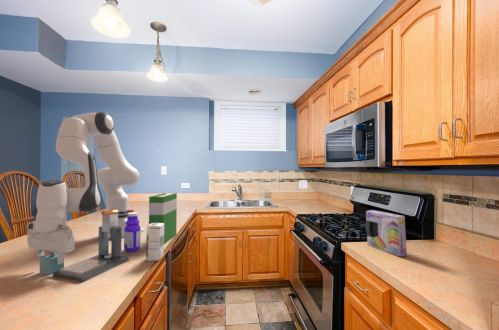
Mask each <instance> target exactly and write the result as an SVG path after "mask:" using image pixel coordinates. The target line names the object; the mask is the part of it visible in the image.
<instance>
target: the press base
mask: <svg viewBox="0 0 499 330" xmlns="http://www.w3.org/2000/svg"><path fill="white" fill-rule="evenodd" d="M121 230H122V227H114V228H112V233H111V241H107V232H103V231H102V225H101V226H98V252H97V253H98V254H97V255H94V256H92V257H89V258H86V259H82V260H79V261H77V262H73V263H72V264H70V265H67V266H64V268H61V269H60V270H57V271H55V272H53V274H52V277H53V278H58V279H63V280H68V281H73V282H77V283H78V282H79V283H83V282H86V281H88V280H91V279H92V278H94V277H96V276H99V275H100V274H103V273H105V272H107V271H109V270H111V269H113V268H115V267H118V266H120V265H122V264H124V263H127V262H128V261H130V256H127V255H122V238H121ZM110 242H111V249H110V250H111V251H110V253H109V243H110Z"/></svg>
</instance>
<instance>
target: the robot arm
mask: <svg viewBox="0 0 499 330" xmlns="http://www.w3.org/2000/svg"><path fill="white" fill-rule="evenodd" d="M114 128H115V122H114V119H113V117H112V116H111V115H110V114H109V113H108V112H105V111H103V112H102V111H99V112H87V113H86V112H85V113H81V114H76V115H74V114H73V115H70V116H68V117H66V118H65V119H64V120H63V121H62V122H61V125H60V126H59V129H58V132H57V136H56V141H55V151H56V153H57V155H59V156H60V157H61V158H62V159H64V160H66V161H67V162H70V163H73V164H76V165H79V166H81V167H83V171H84V183H85V184H84V185H85V186H84V187H67V183H66V182H65V181H64V180H57V179H56V180H54V179H53V180H46V181H42V182H41V183H40V184H39V185H38V188H37V193H36V202H35V203H36V208H37V214H36V216H35V220H33V221H31V222H29V223H27V224H26V229H27V234H26V235H27V236H26V237H27V238H26V239H27V246H28V248H30V249H34V250H35V253H36V255H37V261H38V262H40V258H42V257H45V256H47V255H46V254H45V251H47V252H55V253H57V254H58V255H59V256H58V259H56V264H62V263H63V262H64V263H65V257H66V255H67V253H70V252H73V251H75V247H76V238H75V233H74V231H73V229H72V228H71V227H70V226H69V225H67V224H68V222H67V221H68V219H67V217H68V214H67V213H68V212H72V213H73V212H82V213H85V212H86V213H91V212H93V211H94V210H95V209H97V208H98V207H100V204H101V195H100V191H99V190H100V189H99V184H100V185H101V187H102V188H103V191H104V193H105V199H106V210H110V209H118V210H119V213H118V227H122V230H121V239H122V238H124V229H125V227H126V221H127V219H128V213H131V212H135V209H129V208H130V204H129V203H130V201H129V200H130V197H129V195H128V194H127V193H126V192H125V191H124V189H123V187H131V186H135V185H137V184H138V183H139V181H140V179H141V178H140V172H139V171H138V169H136V168H135V167H133V166H132V165H131V163H129V162H128V161H127V159H126V158H125V156H124V154H123V151H122V148H121V146H120V141H119V139H118V136H117V134H116V132H115V131H114ZM89 137H92V138H93V143H94V145H95V149H96V152H97V154H98V158H99V160H100V161H101V162H102V163H104V164H105V165H106V166H107V167H103V168H100V169H99V170H97V163H96V158H95V155H94V153H93V152H91V151H90V150H89V146H88V144H89ZM139 226H140V228H141V232H143V231H145V228H144V227H141V222H140V221H139Z"/></svg>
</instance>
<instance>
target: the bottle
mask: <svg viewBox="0 0 499 330" xmlns="http://www.w3.org/2000/svg"><path fill="white" fill-rule="evenodd" d="M138 216H139V215H138V212H135V211H134V212H131V213H128V219H127V221H126V227H125V229H124V237H123V238H124V239H123V249H124V251H126V252H129V253H133V252H137V251H139V250H140V249H141V232H142V231H141V228H142V227H141V225H140V226H139V222H140V221H139V217H138ZM140 227H141V228H140Z"/></svg>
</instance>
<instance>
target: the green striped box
mask: <svg viewBox="0 0 499 330" xmlns="http://www.w3.org/2000/svg"><path fill="white" fill-rule="evenodd" d="M177 197H178V194H177V193H176V192H175V193H172V194H169V193H165V192H164V193H160V194H156V195H150V196H148V225H150V224H151V223H164V245H165V244H167V243H168V242H169V241H171V240H172V239H173V238H174V237H176V236H177V223H178V222H177V221H178V220H177V215H178V214H177V212H178V211H177V206H178V205H177V203H178V199H177Z"/></svg>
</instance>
